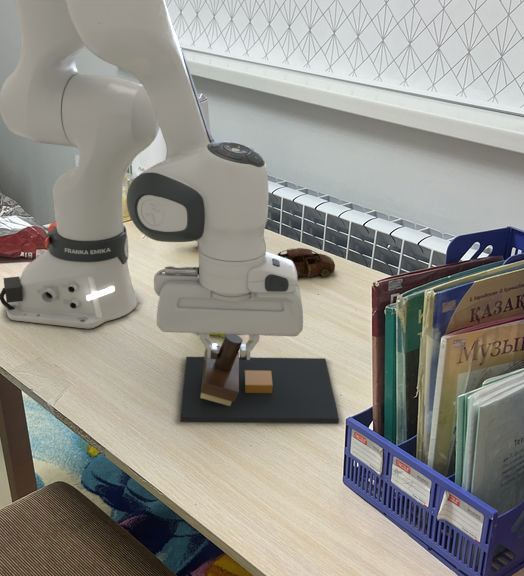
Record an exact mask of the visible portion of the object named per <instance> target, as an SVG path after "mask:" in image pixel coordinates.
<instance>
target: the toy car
mask: <svg viewBox="0 0 524 576" xmlns="http://www.w3.org/2000/svg"><path fill="white" fill-rule="evenodd" d="M284 252H286V253H284ZM276 255H277V256H280V257H283V258H286V259H289V260H291V261H293V263H294V265H295V267H296V270H297V276H298V277H299V276H300V277H301V276H302V277H303V276H307V277H306V278H310V277H314V276H317V275H321V276H322V277H324V278H326V277H328V276H329V275H332V274H333V273H334V272H335V269H336V263H335V261H334V259H333V258H332V257H330V256H328V255H327V254H323V253H318V252H316V251H314V250H312V249H310V248H305V247H304V248H303V247H297V248H287V249H286V250H282V251H280V252H278V253H277V254H276Z"/></svg>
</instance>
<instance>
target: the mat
mask: <svg viewBox="0 0 524 576" xmlns="http://www.w3.org/2000/svg"><path fill="white" fill-rule="evenodd" d="M185 358H186V359H185V366H184V367H185V369H184V378H183V387H182V396H181V406H180V413H179V419H180V422H181V423H183V422H184V423H188V422H189V423H293V424H294V423H295V424H299V423H300V424H301V423H303V424H305V423H306V424H339V422H340V419H339V418H340V417H339V413H338V409H337V404H336V403H337V402H336V399H335V395H334V390H333V386H332V381H331V377H330V372H329V368H328V364H327V360H326V358H324V357H323V358H321V357H319V358H318V357H315V358H314V357H312V358H311V357H309V358H308V357H251V356H250V360H240V356H239V393H238V396H237V398H236V401H235V402H232V403H231V405H230V406H227V405H224V404H220V403H217V402H213V401H209V400H206V399H202V398H200V397H201V385H202V375H203V364H204V356H186V357H185ZM245 370H252V371H271V373H272V384H273V388H272V393H245V381H244V375H245Z"/></svg>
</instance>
